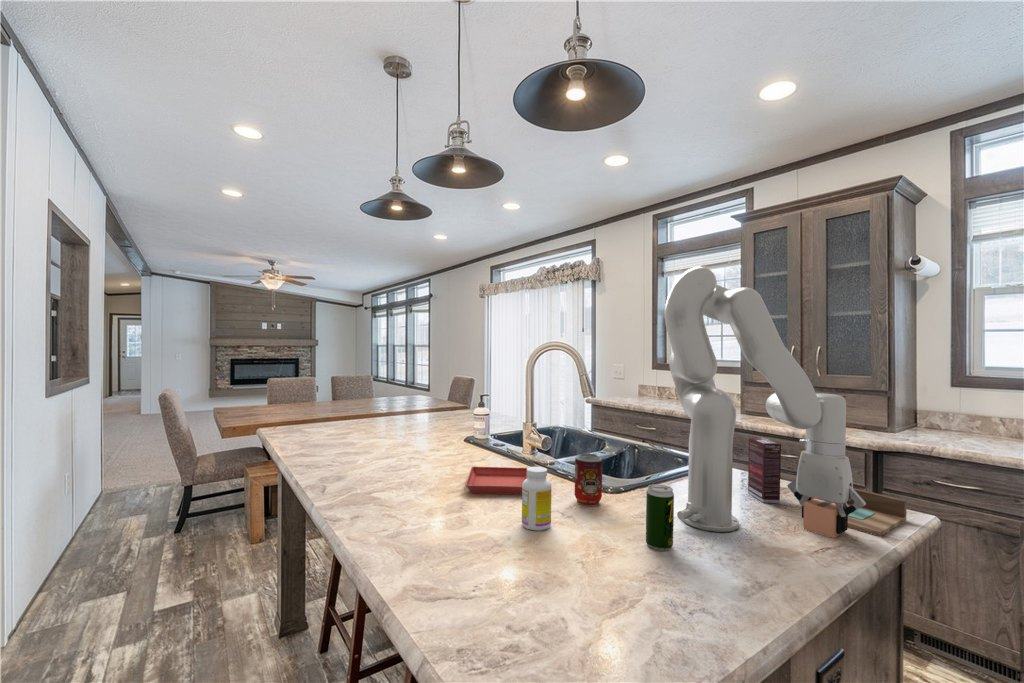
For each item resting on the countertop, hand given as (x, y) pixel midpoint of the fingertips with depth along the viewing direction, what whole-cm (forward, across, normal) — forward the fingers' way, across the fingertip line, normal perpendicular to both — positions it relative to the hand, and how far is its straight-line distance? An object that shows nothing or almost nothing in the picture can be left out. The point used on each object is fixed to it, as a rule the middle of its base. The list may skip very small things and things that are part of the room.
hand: (823, 526), depth 105 cm
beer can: (+1, -15, -39) cm, 42 cm away
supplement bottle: (+1, -37, -54) cm, 65 cm away
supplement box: (+1, -19, +11) cm, 22 cm away
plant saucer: (+1, -66, -45) cm, 80 cm away
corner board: (+1, +1, +16) cm, 16 cm away
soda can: (+1, -42, -33) cm, 53 cm away
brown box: (+1, 0, 0) cm, 1 cm away
